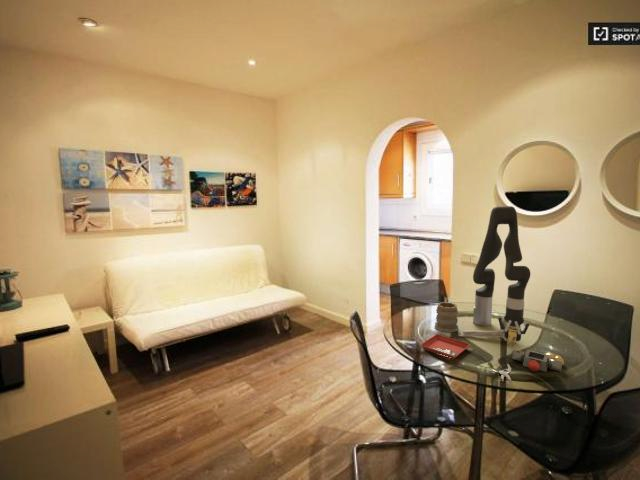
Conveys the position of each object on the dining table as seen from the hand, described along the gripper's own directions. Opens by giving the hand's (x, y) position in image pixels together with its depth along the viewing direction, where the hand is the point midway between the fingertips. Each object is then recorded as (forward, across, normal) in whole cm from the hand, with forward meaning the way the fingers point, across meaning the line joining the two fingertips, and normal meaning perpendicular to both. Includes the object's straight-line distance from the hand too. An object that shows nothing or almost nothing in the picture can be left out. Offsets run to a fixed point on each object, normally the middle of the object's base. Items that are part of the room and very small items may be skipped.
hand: (512, 339), depth 172 cm
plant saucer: (+7, -27, -18) cm, 33 cm away
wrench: (+7, -13, +8) cm, 17 cm away
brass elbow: (+4, +16, +1) cm, 16 cm away
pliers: (+6, 0, -25) cm, 25 cm away
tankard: (+7, -37, +14) cm, 40 cm away
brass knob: (+2, 0, 0) cm, 2 cm away
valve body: (+6, +11, -10) cm, 16 cm away
